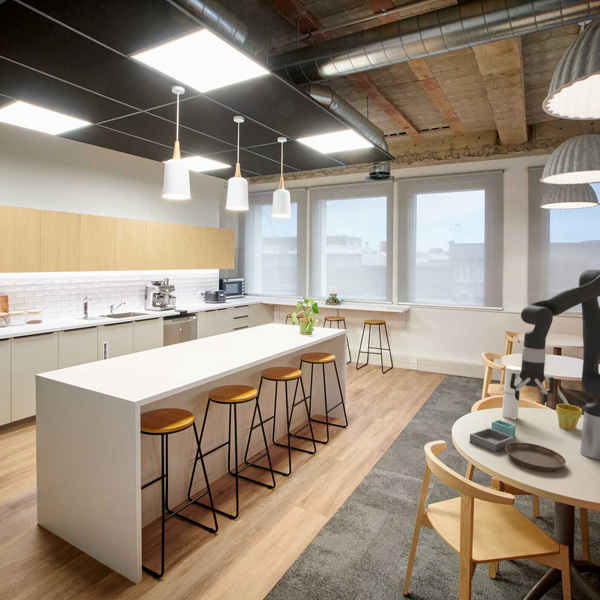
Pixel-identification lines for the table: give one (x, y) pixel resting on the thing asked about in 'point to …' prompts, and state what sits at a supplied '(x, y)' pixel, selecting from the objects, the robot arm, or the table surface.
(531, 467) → the plant saucer
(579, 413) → the plant pot
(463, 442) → the table surface
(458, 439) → the table surface
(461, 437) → the table surface
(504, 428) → the small crate
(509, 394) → the cylindrical container
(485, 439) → the grey rectangular tray
